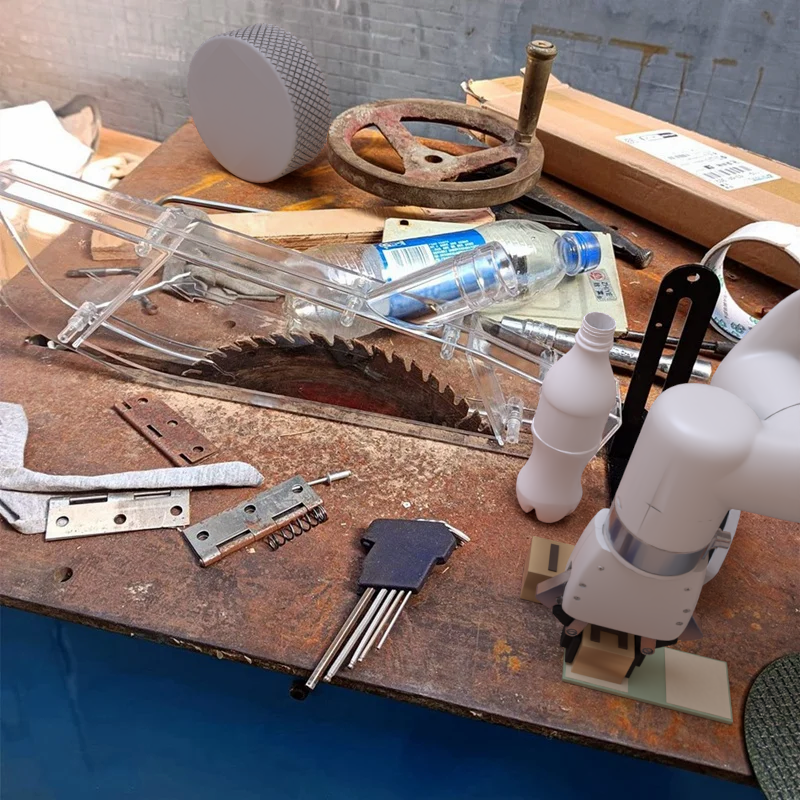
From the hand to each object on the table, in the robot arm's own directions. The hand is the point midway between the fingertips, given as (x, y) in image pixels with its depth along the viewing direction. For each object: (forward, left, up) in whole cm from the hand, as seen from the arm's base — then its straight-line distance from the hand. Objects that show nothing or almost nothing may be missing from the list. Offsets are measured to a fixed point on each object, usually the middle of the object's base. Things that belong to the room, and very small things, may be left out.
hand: (597, 655), depth 70 cm
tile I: (+5, -7, -1) cm, 9 cm away
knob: (+66, -86, -1) cm, 109 cm away
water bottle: (+6, -18, -1) cm, 19 cm away
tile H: (0, 0, 0) cm, 0 cm away
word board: (-5, 0, -1) cm, 5 cm away
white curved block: (-8, -16, -1) cm, 18 cm away
